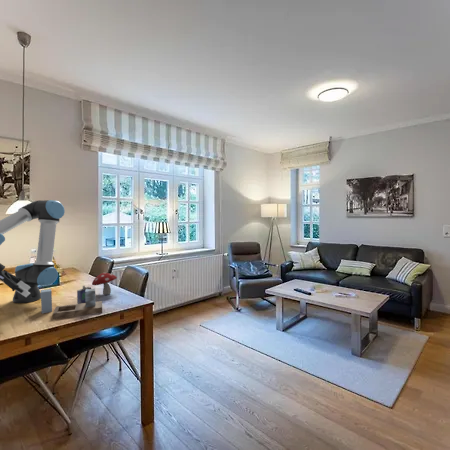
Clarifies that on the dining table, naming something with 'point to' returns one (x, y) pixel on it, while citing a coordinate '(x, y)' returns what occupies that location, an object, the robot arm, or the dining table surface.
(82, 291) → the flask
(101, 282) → the decorative mushroom
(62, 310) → the block insertion board
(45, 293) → the gray rectangular block
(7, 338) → the dining table surface
